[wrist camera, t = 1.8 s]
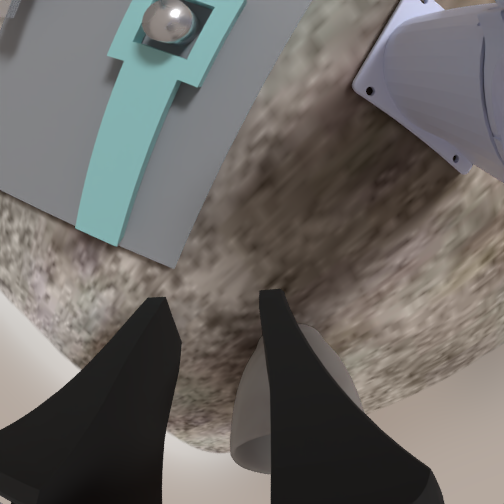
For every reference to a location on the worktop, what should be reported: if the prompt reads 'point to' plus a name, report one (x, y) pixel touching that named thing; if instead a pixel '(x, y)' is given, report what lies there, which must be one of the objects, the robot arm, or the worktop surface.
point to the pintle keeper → (149, 21)
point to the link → (142, 113)
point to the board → (96, 99)
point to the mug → (258, 403)
